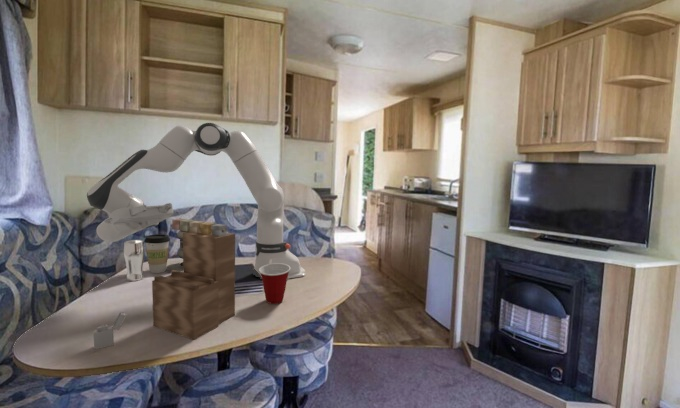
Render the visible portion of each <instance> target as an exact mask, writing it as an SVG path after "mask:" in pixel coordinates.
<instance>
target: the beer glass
mask: <svg viewBox="0 0 680 408" xmlns="http://www.w3.org/2000/svg"><path fill="white" fill-rule="evenodd" d="M123 245H124V246H123V256H124V263H125V266H126V267H125V268H126V278H125V280H126V281H127V282H136V281H141V280H143V279H144V278H145V276H144V272H143V271H144V270H143V268H144V267H143V265H144V260H145V242H144V240H142V239H132V240H131V239H130V240H126V241H124V243H123Z"/></svg>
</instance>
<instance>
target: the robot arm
mask: <svg viewBox="0 0 680 408" xmlns="http://www.w3.org/2000/svg"><path fill="white" fill-rule="evenodd" d="M193 152H197V153H201V154H203V155H205V156H210V157H211V156H216V155H218V154H220V153H221V152H224V153H225V154H226V155H227V156H228V157H229V158H230V160H231V161H232V163H233V164H234V166H235V168H236V169H237V171H238V174H240V176H241V177H242V179H243V181H244V182H245V185H246V186H247V188H248V190H249V191H250V193H251V195H252V197H253V199H254V200H255V201H256V203H257V219H256V220H257V221H256V241H255V245H254V247H255V248H254V249H255V263H254V266H253V270H254V269H255V270H256V271H257V272H258V273H259V274H260V275H261V273H260V272H259V268H261V267H262V266H264V265H267V264H274V263H281V264H286V265H289V266H290V271H289V273H288V278H287V280H288V279H294V278H295V279H296V278H301V277H302V278H303V277H305V276H306V270H305V268H303V267H302V266H301V263H300V260H299V258H298V257H297V256H296V255H295V254H294V253H292V252H291V251H290V249H291V244H289V243H287V242H286V241H284V217H285V215H284V214H285V213H284V210H285V209H284V208H285V206H284V203H285V194H284V189H283V188H282V187H281V186H280V185H279V184H278V182H277V181H276V179H275V177H274V175H273V174H272V172H271V170H270V169H269V167H268V165H267V164H266V161H265V160H264V158H263V157H262V155H261V153H260V152H259V150H258V149H257V147H256V146H255V144H254V143H253V141H251V139H250V137H248V136H247V134H245V132H244V131H242V130H233V131H230V132H229V131H228V130H227V129H225V128H223V127H222V126H221V125H219V124H216V123H213V122H205V123H202V124H200V125H199V126H198V127H197V129H196V130H191V128H189V127H187V126H185V125H176V126H174V127H173V128H172V129H171V130H170V131H168V132H167V133H166V134H165V135H164V136H163V137H162V138H161V139H160V141H159V142H158V143H157V144H155V146H153V147H151V148H149V149H140V150H138V151H136V152H135V153H133V154H132V155H130V157H128V158H126V160H124V161H123V162H122V163H120V165H118V166H117V167H115V168H114V170H112V171H111V172H110V173H109V174H107V175H106V176H104V177H103V178H102V179H101V180H99V181H98V182H96V183H95V184H94V185H92V186H91V187H90V189H88V192H87V194H86V197H87V199H86V200H87V201H88V204H89V206H91V207H93V208H95V209H98V210H100V211H103V212H105V213H108V217H107V218H105V219H104V220H103V221H102V222H101V223H99V224H98V226H97V227H96V230H95V232H96V234H97V237H98V238H99V239H100V240H102V241H104V242H107V243H115V242H119V241H121V240H123V239H125V238H127V237H129V236H131V235H134V234H135V233H137V232H141V231H142V230H145V229H148V228H151V227H155V226H158V225H159V223H161V222H163V221H165V220H166V219H168V218H170V217H172V216H173V215H174V213H175V212H174V209H173V204H172V203H171V202H167V203H165V204H163V205H162V204H161V205H159V204H158V205H149V206H148V205H147V204H145V203H144V201H143V200H142V199H140V198H139V197H138V196H135V195H133V194H132V193H129V191H127V190H125V189H123V188H121V187H119V184H121V183H122V182H123V181H124V180H126V179H127V178H128V177H130V175H132V174H133V173H134V172H135V171H137V170H141V169H142V170H145V169H146V170H150V171H153V172H158V173H159V172H160V173H167V174H168V173H172V172H176V171H177V170H178V169H179V168H180V167H181V166H182V165H183V164H184V162H185V161H186V159H187V158H188V157H189V156H190V155H191V154H192V153H193Z"/></svg>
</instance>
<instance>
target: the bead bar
mask: <svg viewBox="0 0 680 408" xmlns="http://www.w3.org/2000/svg"><path fill="white" fill-rule="evenodd" d="M171 221H172V223H171V228H172V230H176V231H180V230H182V231H190V232H194V233H199V232H201V234H207V235H209V234H212V235H213V236H219V237H220V236H224V235H227V233H228V225H227V224H223V223H218V224H217V223H215V222H205V221H201V220H193V219H187V218H173V219H171Z"/></svg>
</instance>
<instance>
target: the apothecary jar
mask: <svg viewBox="0 0 680 408" xmlns="http://www.w3.org/2000/svg"><path fill="white" fill-rule="evenodd" d="M186 232H190V231H182V230H178V232H177V233H176V238H177V239H179V248H178V250H177V253H176V255H177V256H178V257H179V258H180V259H182V260H183V233H186ZM179 265H180V267H182V268H183V261H182V262H181V263H180V264H179Z"/></svg>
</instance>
